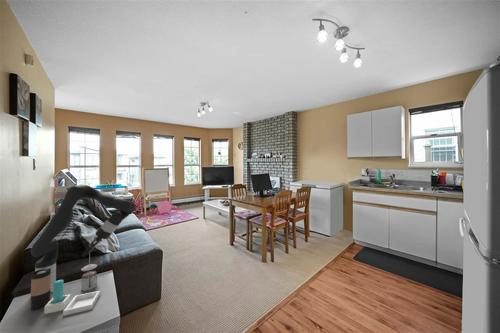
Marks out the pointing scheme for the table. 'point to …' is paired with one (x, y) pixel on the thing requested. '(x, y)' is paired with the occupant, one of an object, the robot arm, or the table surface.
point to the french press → (89, 277)
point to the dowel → (58, 291)
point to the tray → (81, 303)
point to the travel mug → (40, 288)
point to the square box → (57, 305)
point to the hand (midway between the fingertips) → (85, 253)
